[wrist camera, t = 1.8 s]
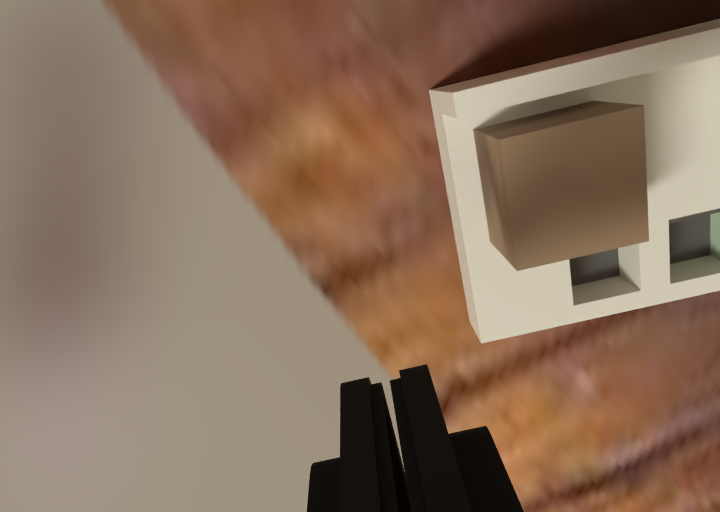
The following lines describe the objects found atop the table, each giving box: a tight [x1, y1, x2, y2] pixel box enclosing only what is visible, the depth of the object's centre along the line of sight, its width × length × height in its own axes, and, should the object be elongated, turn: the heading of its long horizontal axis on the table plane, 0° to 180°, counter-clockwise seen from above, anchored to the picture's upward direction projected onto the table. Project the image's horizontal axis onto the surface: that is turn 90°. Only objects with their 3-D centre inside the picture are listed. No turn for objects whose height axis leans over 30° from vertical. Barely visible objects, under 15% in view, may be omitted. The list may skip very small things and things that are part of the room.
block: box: [473, 101, 649, 271], centre depth 22 cm, size 6×6×4 cm
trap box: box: [429, 19, 720, 343], centre depth 24 cm, size 13×18×6 cm
